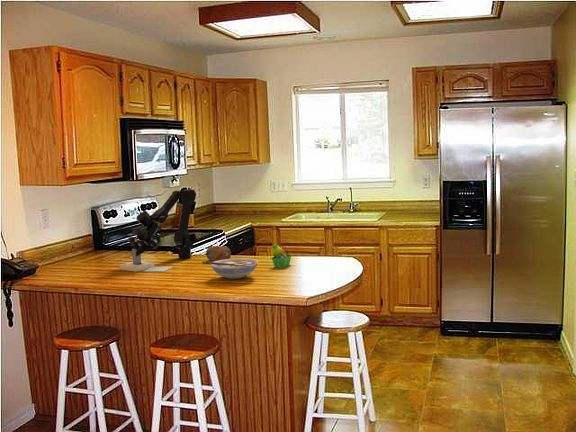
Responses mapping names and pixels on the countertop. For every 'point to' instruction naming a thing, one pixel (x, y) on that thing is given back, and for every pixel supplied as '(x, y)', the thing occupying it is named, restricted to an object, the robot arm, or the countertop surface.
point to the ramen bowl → (233, 267)
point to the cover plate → (136, 266)
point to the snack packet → (218, 253)
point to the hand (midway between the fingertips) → (134, 255)
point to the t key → (136, 257)
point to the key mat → (158, 269)
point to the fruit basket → (280, 257)
